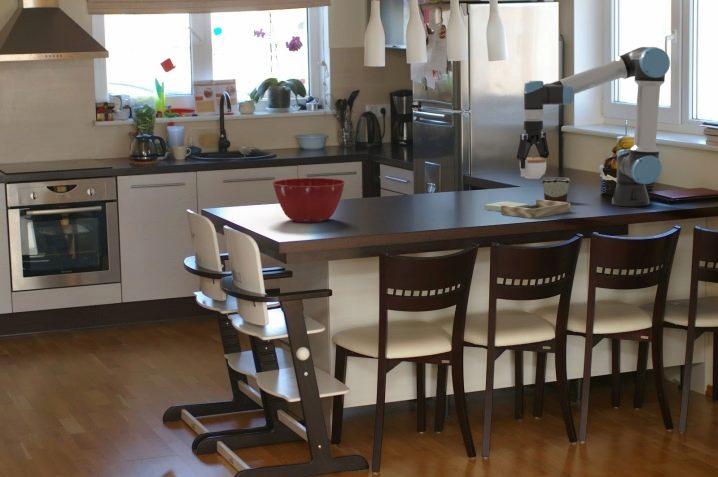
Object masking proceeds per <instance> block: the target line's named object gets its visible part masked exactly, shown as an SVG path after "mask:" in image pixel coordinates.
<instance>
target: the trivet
mask: <svg viewBox="0 0 718 477" xmlns="http://www.w3.org/2000/svg"><path fill="white" fill-rule="evenodd" d="M502 205H505V206H513V207H524V206H530V204H529V203H523V202H522V203H521V202H515V201H513V202H512V201H507V200H505V201H500V202H498V201H497V202H493V203H486V204H484V205H483V208H484V209H483V210H485V211H494V212H500V213H501V206H502Z"/></svg>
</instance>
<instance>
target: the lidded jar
mask: <svg viewBox="0 0 718 477" xmlns="http://www.w3.org/2000/svg"><path fill="white" fill-rule="evenodd" d="M547 160H548V158H541V157H540V156H539V157H538V156H537V157H536V156H535V154H531V157H528V156H527V158H526V161H528V162H527V177H524V178H525V179H529V180H536V179H537V180H538V179H539V180H540V179H541V178H542V177H543V176H544V175H545V174H546V171H547ZM519 170H520V171H521V168H520V167H519ZM544 173H545V174H544Z"/></svg>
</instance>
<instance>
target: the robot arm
mask: <svg viewBox="0 0 718 477" xmlns="http://www.w3.org/2000/svg"><path fill="white" fill-rule="evenodd" d="M670 65H671V60H670V57H669V55H668V54H667V52H666V51H665V50H664V49H662V48H659V47H655V46H642V47H637V48H635V49H633V50H631V51H628V52H625V53H623V54H621V55H619V56H616V58H615V60H612V61H609V62H607V63H604V64H601V65H598V66H596V67H593V68H590V69H587V70H584V71H581V72H579V73H576V74H573V75H569V76H567V77H564V78H562V79H559V80H556V81H553V82H551V83H544V81H543V80H527V81H525V82H524V88H523V89H524V90H523V99H524V100H523V101H524V102H523V103H524V104H523V111H524V112H523V119H524V121H523V130H524V131H525V134H524V133H521V134H520V135H519V137H520V138H519V145H518V149H517V153H516V159H517V160H518V161H519V169H520V168H521V170H520V177H522V178H525V177H527V162H528V161H526V158H527V157H528V156H529V152H530V150H531V147H532V146H533V145H535V148H536V150H537V152H538V155H539V157H540V158H546V159H548V158H549V156H550V151H549V146H548V145H549V144H548V140H547V132H546V131H545V132H542V130H543V129H544V121H543V119H544V105H545V106H546V105H548V106H549V105H563V106H565V105H572V103H573V101H574V97H575V95H576V94H579V93H581V92H585V91H587V90H590V89H593V88H596V87H600V86H602V85H605V84H607V83H610V82H613V81H616V80H619V79H623V80H626V79H628V78H633V77H634V82H635V83H636V85H637V95H636V109H635V110H636V111H635V112H636V113H635V124H634V125H635V126H634V136H633V139H634V140H633V145H632V146H631V147H630V148H627V149H626V148H625V149H619V150H618V151H617V156H616V186H615V189H614V192H613V195H612V198H611V204H612V205H614V206H619V207H645V206H649V205H650V197H649V194H648V190H647V187H646V185H649V184H652V183H654V182H655V181H657V180H658V179H659V178H660V176H661V173H662V169H663V167H662V164H661V161H660V159H659V158H660V150H659V149H658V147H657V145H656V144H657V133H658V132H657V131H658V119H659V118H658V117H659V106H660V93H661V86H662V85H663V84H665V80H666V79H665V78H666V74H667V73H668V72H669V69H670V67H671V66H670ZM543 175H546V172H545V173H544V174H543Z"/></svg>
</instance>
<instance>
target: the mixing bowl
mask: <svg viewBox="0 0 718 477" xmlns="http://www.w3.org/2000/svg"><path fill="white" fill-rule="evenodd" d="M345 183H346V181H345V180H342V179H339V178H325V177H324V178H323V177H310V178H309V177H303V178H302V177H301V178H298V177H297V178H287V179H285V178H284V179H280V180H276V181H275V180H274V181H273V182H272V185H273V188H274V191H275V194H276V195H275V196H276V197H277V198H276V199H277V201H278V204H279V205H280V208H281V209H282V212H283V213H284V214H285V216H286V217H287V218H289V220H292V222H294V221H295V223H301V222H307V223H308V224H311V223H310V222H315V223H323V222H326V221H327V220H328V219H330V218H331V217H332V216H333V215H334V214H335V212H336V211H337V208H338V206H339V204H340V200H341V198H342V194H343V191H344V187H345ZM325 220H326V221H325ZM322 221H323V222H322Z"/></svg>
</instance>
